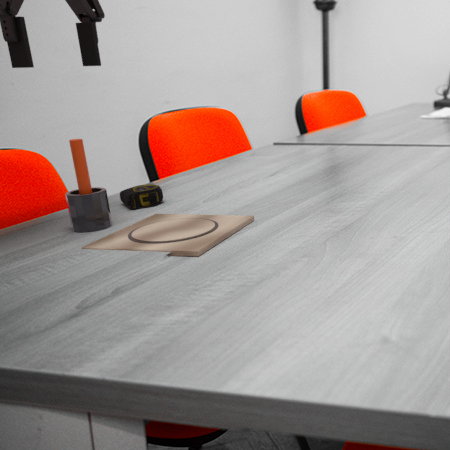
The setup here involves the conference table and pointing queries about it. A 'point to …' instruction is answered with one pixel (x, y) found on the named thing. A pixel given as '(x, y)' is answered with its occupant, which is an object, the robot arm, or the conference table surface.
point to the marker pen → (80, 166)
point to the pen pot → (89, 210)
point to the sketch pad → (173, 234)
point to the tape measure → (142, 196)
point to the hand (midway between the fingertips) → (60, 67)
